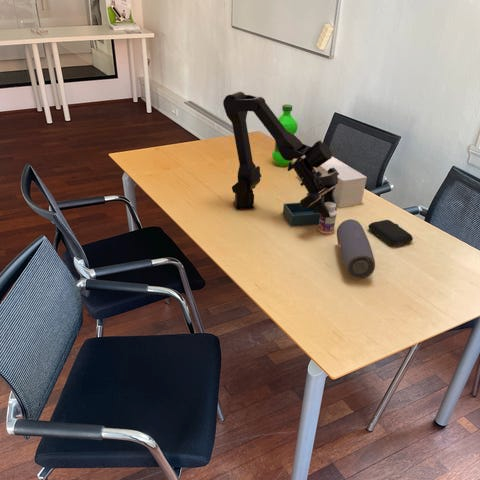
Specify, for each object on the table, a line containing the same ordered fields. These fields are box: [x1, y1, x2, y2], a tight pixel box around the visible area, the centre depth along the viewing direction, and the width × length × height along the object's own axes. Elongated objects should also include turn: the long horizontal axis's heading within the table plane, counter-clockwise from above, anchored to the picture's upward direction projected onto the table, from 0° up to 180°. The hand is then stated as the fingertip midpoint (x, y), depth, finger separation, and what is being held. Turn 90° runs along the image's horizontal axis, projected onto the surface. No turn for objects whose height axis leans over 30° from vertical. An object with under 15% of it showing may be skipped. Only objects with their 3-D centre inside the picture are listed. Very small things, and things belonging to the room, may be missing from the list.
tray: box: [282, 202, 321, 227], centre depth 169 cm, size 12×10×4 cm
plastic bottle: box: [271, 103, 298, 167], centre depth 205 cm, size 10×10×25 cm
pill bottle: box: [317, 202, 338, 234], centre depth 161 cm, size 5×5×10 cm
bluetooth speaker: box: [336, 218, 376, 280], centre depth 144 cm, size 23×9×10 cm, turn 178°
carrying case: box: [367, 219, 414, 247], centre depth 161 cm, size 11×3×15 cm
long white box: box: [296, 155, 368, 209], centre depth 188 cm, size 32×11×11 cm, turn 25°
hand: (332, 214), depth 159 cm, fingers closed on pill bottle, 5 cm apart
